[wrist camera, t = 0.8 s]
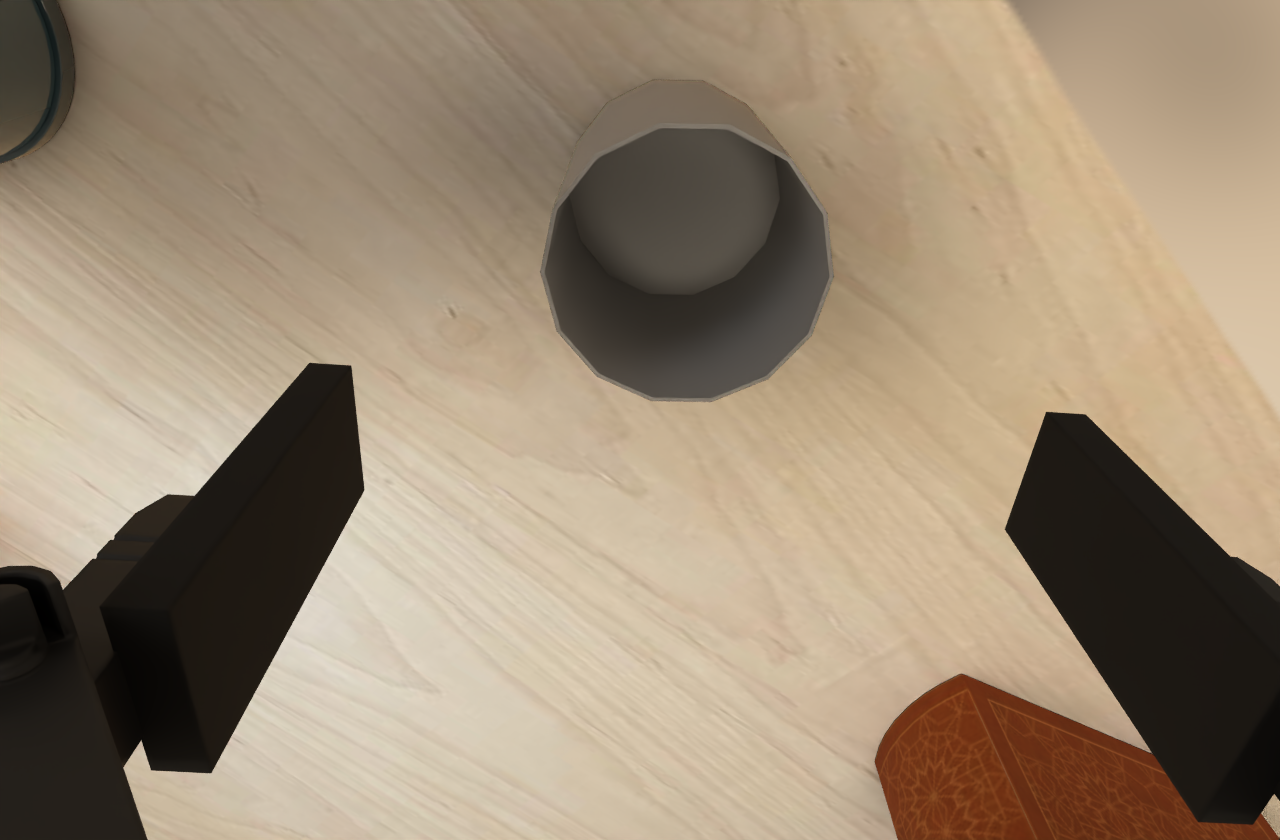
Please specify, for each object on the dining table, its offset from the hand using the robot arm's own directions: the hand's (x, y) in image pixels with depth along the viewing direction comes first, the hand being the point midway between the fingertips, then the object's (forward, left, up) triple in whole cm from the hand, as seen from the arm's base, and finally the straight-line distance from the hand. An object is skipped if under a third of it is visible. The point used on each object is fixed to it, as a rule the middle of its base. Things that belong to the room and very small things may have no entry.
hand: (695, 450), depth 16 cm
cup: (-1, 0, -19) cm, 19 cm away
